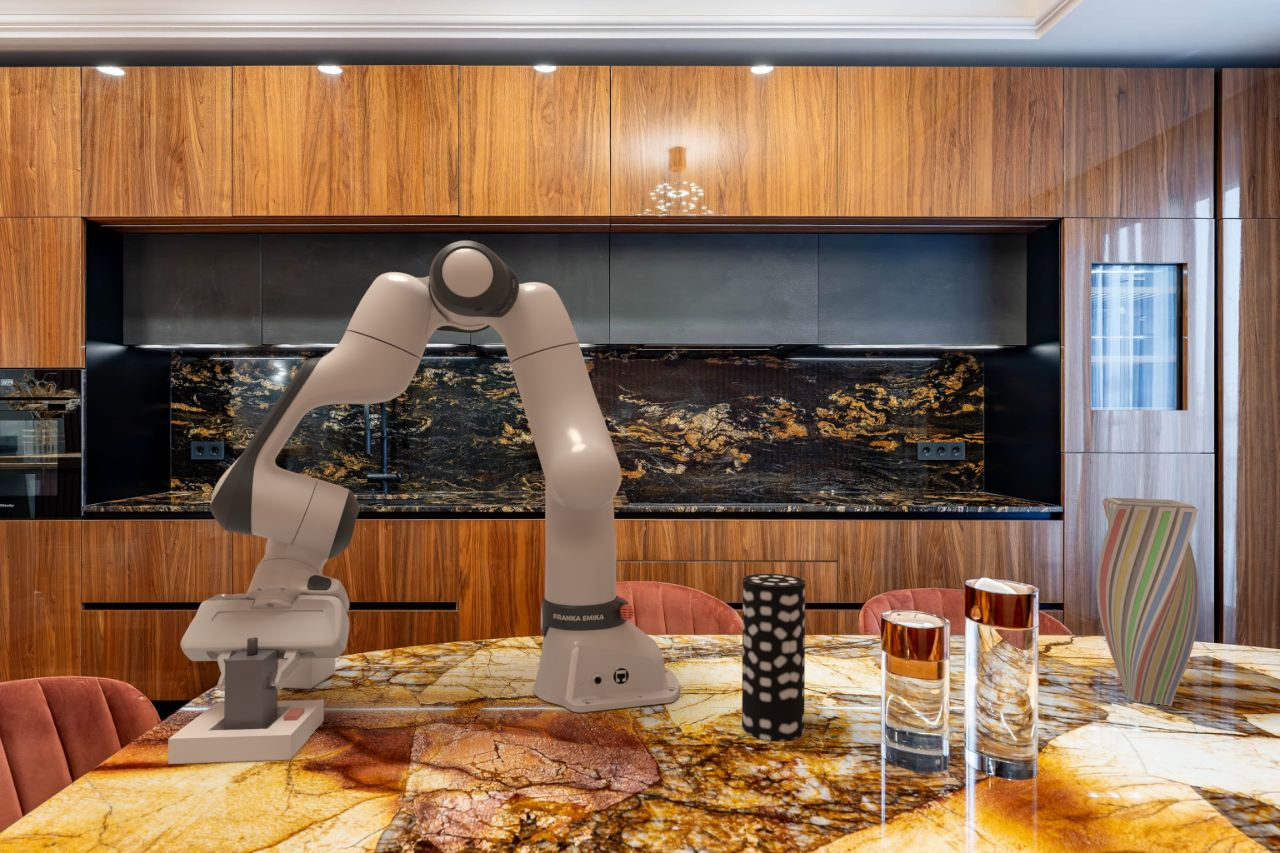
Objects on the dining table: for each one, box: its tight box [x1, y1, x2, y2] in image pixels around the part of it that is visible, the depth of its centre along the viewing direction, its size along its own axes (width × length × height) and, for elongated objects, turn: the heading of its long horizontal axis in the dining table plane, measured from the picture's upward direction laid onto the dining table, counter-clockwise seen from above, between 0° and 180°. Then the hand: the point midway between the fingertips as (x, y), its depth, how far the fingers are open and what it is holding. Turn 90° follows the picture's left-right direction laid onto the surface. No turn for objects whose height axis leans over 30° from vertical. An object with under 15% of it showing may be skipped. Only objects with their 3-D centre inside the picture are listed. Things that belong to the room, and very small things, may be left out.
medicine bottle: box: [278, 658, 336, 690], centre depth 110 cm, size 7×7×12 cm
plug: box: [223, 637, 279, 730], centre depth 88 cm, size 4×4×11 cm
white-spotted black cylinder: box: [741, 573, 806, 742], centre depth 94 cm, size 8×8×20 cm
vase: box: [1095, 496, 1200, 707], centre depth 105 cm, size 14×14×30 cm
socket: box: [167, 699, 325, 765], centre depth 88 cm, size 14×11×4 cm
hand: (249, 688), depth 88 cm, fingers closed on plug, 4 cm apart
